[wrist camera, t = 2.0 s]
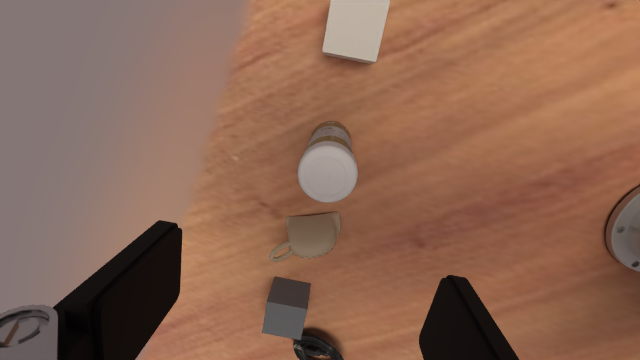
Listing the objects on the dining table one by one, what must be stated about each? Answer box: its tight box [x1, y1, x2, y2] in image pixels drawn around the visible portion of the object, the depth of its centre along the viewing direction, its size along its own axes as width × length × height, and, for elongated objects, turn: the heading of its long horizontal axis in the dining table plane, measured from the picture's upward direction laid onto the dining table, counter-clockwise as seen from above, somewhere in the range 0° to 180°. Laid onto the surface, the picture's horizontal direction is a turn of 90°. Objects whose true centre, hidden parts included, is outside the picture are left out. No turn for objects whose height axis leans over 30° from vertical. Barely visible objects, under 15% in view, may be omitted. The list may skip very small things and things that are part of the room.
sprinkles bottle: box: [298, 121, 358, 203], centre depth 29 cm, size 5×5×13 cm
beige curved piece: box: [269, 212, 341, 262], centre depth 37 cm, size 4×8×5 cm, turn 96°
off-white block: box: [322, 0, 390, 64], centre depth 29 cm, size 5×5×5 cm
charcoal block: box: [262, 277, 311, 340], centre depth 40 cm, size 5×5×5 cm
